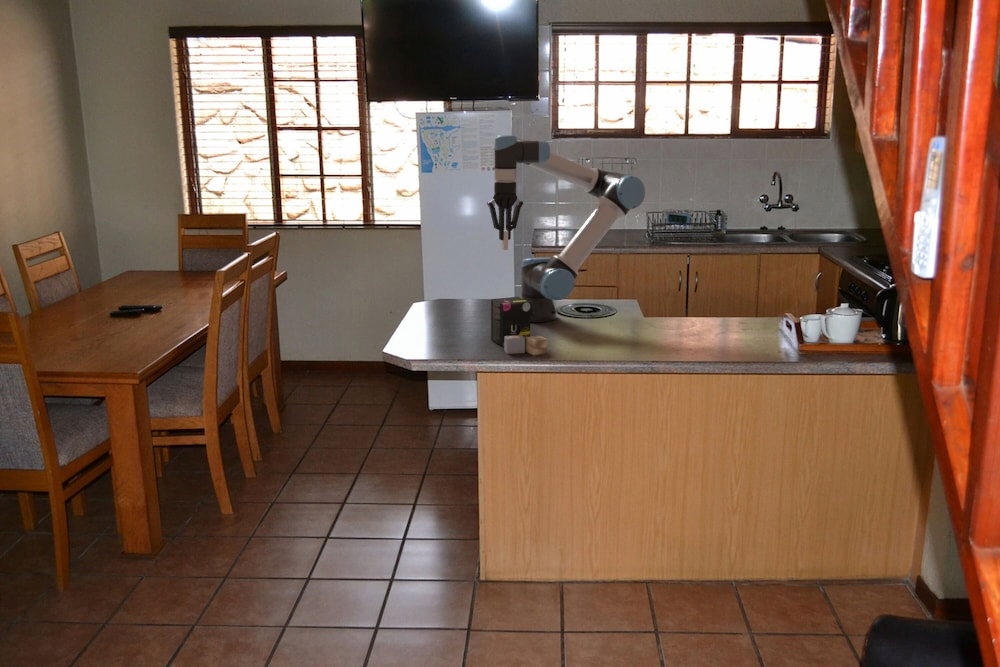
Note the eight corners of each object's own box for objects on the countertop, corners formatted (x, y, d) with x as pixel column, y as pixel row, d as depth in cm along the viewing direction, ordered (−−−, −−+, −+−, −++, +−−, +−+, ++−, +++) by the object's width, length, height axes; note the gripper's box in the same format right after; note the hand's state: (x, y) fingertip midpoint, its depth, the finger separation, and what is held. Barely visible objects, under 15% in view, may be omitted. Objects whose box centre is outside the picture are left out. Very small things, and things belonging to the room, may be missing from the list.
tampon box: (502, 346, 299) (502, 304, 295) (490, 340, 307) (490, 298, 303) (531, 343, 304) (531, 301, 300) (518, 336, 312) (518, 295, 308)
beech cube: (538, 349, 296) (538, 334, 295) (546, 353, 292) (547, 338, 291) (525, 351, 294) (525, 336, 293) (533, 355, 290) (533, 340, 288)
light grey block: (522, 349, 296) (522, 334, 295) (524, 353, 292) (524, 337, 291) (504, 350, 295) (504, 335, 294) (506, 353, 291) (506, 338, 290)
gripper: (519, 179, 312) (518, 246, 318) (483, 180, 308) (483, 248, 314) (526, 181, 305) (526, 250, 311) (490, 182, 301) (490, 251, 307)
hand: (504, 249), depth 313 cm, fingers closed
